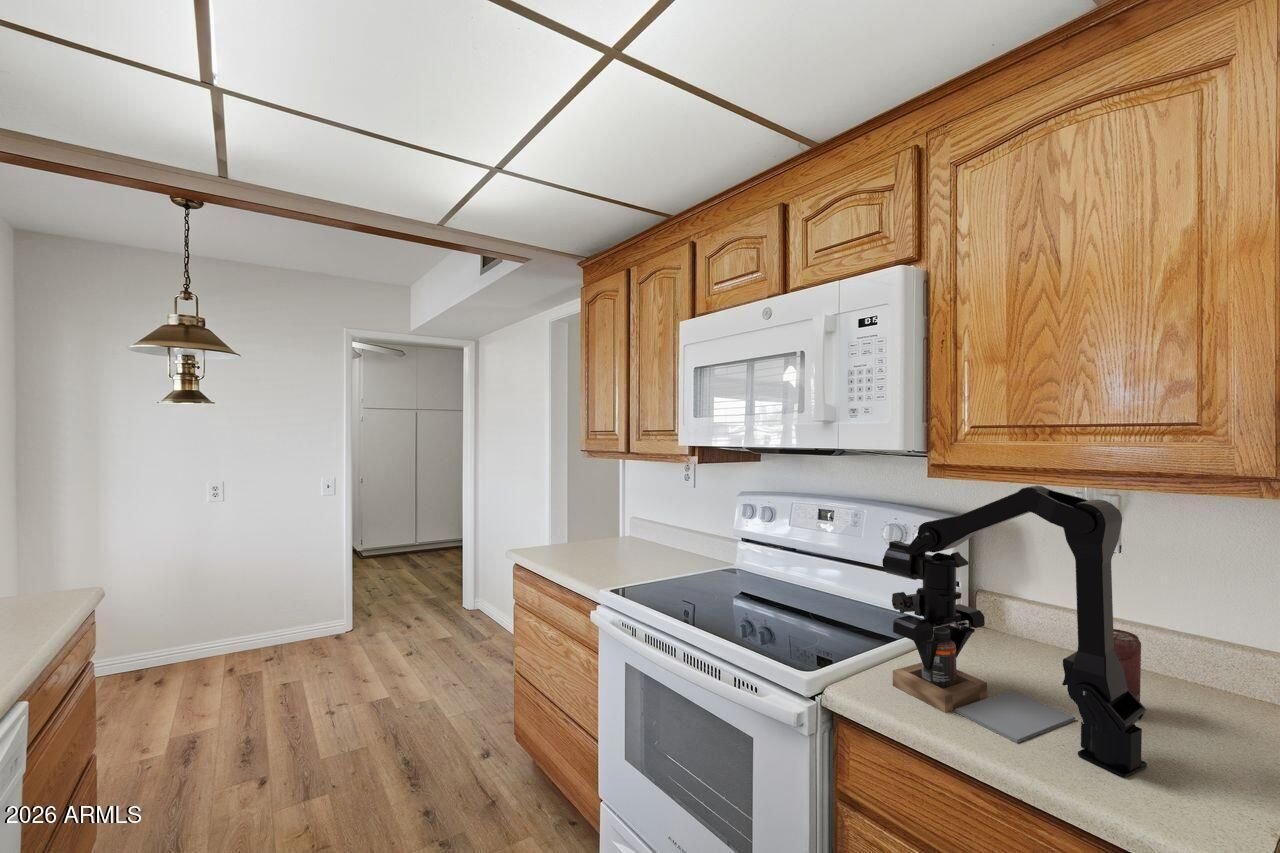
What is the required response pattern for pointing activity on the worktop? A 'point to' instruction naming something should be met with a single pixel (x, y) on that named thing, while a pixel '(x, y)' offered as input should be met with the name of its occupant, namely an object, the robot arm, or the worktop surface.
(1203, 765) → the worktop surface
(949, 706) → the walnut holder
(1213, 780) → the worktop surface
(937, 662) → the supplement bottle
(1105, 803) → the worktop surface
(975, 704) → the grey rubber mat
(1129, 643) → the can
